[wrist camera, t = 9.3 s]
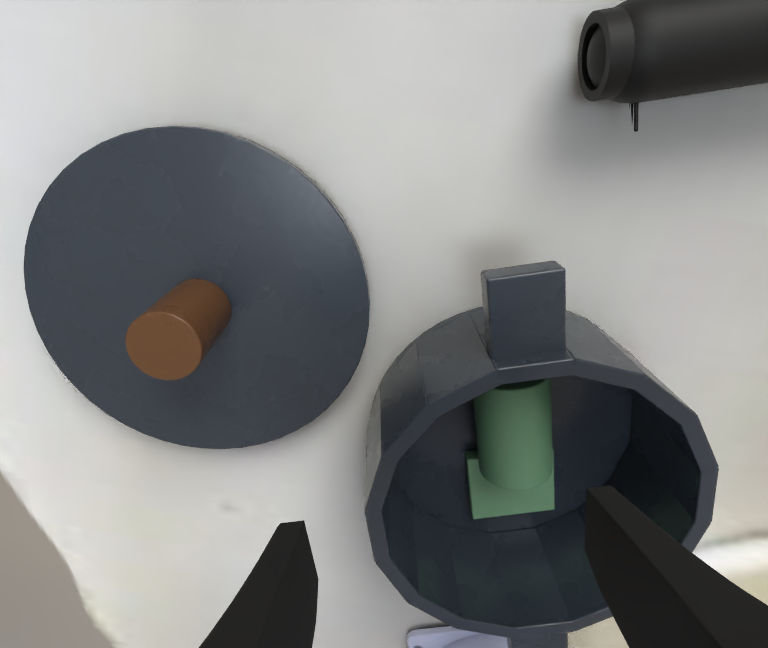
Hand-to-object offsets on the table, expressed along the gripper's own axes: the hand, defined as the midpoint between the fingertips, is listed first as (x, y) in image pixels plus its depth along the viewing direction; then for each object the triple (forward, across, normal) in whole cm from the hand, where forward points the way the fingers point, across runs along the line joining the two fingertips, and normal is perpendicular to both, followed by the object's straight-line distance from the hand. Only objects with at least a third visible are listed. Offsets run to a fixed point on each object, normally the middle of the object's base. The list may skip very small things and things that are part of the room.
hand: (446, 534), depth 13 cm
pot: (+10, -4, +4) cm, 11 cm away
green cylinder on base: (+9, -4, +4) cm, 10 cm away
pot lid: (+9, +8, -4) cm, 13 cm away
